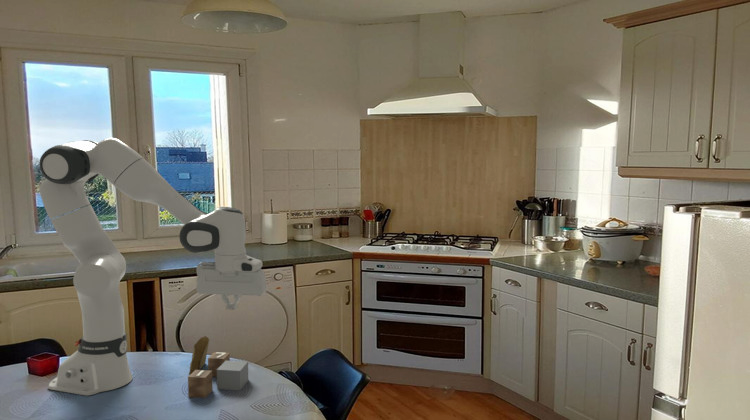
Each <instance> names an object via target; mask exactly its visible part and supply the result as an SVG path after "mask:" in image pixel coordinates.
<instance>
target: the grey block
mask: <svg viewBox="0 0 750 420" xmlns="http://www.w3.org/2000/svg"><path fill="white" fill-rule="evenodd" d="M248 381H249V361H242V360H241V361H240V360H230V361H225V362H224V363H223V364H222V365H221V366H220V367H219V368H218V369H217V377H216V389H217V390H225V391H226V390H228V391H241V390H242V389H243V388H244V387H245V386H246V384H247V383H248Z"/></svg>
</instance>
